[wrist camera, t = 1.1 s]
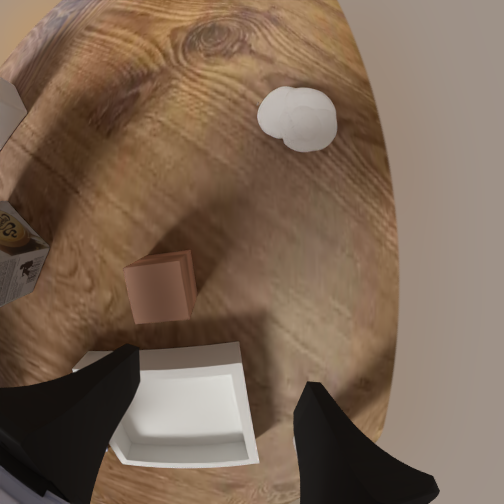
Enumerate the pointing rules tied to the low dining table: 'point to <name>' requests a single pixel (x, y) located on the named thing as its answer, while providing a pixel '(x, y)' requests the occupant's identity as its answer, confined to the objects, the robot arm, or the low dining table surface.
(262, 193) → the low dining table surface
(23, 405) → the robot arm
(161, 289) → the copper brown block
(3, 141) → the medicine bottle
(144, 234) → the low dining table surface
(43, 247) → the coffee box
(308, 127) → the dumpling
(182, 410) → the bin
